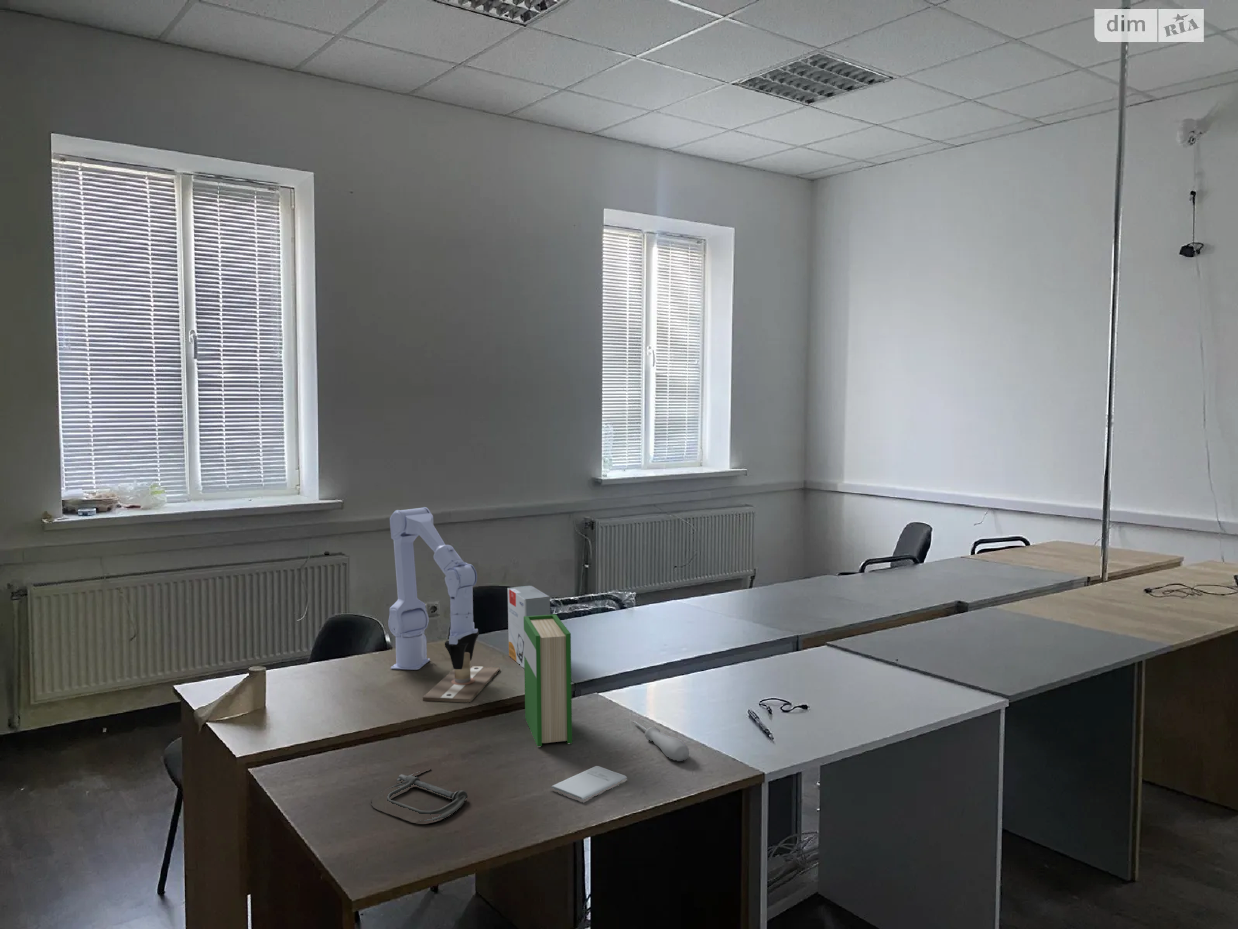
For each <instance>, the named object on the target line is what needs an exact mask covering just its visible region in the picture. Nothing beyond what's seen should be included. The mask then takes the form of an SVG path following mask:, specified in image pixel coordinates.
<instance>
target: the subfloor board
mask: <svg viewBox="0 0 1238 929" xmlns="http://www.w3.org/2000/svg"><path fill="white" fill-rule="evenodd" d="M498 671H499V672H500V671H501V668H500V667H498V666H497V667H494V666H482V665H481V666H479V665H478V666H477V665H472V666H471V665H470V675H471V681H470V682H467V683H456V682H455V669H454V668H453V669H452V670H451V671H450V672H449V673H448V674H446V675H445V676H444V677H443V678H441V680H440V681H439V682H438V683H437V684H435V685H434V686H433V687H432V688H431V689H430V690H428V692H427V693H425V694H424V695H423V696H422V702H423V701H425V702H426V701H427V702H449V703H450V702H452V703H469V702H470V703H471V702H472V701H473V700H474V699H475V698H476V697H477V696H478V694H479V693H480V692H482V691H483V689H484V688H485V687H486V686H487V685H488V684H489V683H490V682H491V681H492V679H493V678H494V677H495V676H496V675H497V674H498V673H499V672H498ZM497 672H498V673H497ZM495 674H496V675H495ZM489 681H490V682H489ZM488 682H489V683H488ZM487 683H488V684H487ZM486 684H487V685H486ZM485 685H486V686H485ZM476 695H477V696H476Z"/></svg>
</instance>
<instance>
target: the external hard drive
mask: <svg viewBox="0 0 1238 929" xmlns="http://www.w3.org/2000/svg"><path fill="white" fill-rule="evenodd" d="M626 778H627V779H628V777H627V776H626V775H625V774H621V773H619V772H616V771H612V770H610V769H608V768H605V767H603V766H599V765H595V766H593V767H591V768H588V769H586V770H584V771H581V772H580V773H577V774H575V775H573V776H571V777H570V776H569V777H568V778H566V779H564V780H562V781H559V782H557V783H555V784H553V785H551V787H550V789H551V788H554V789H555V790H559V791H562V792H564V793H566V794H570V795H572V796H574V797H578V798H580V799H582V800H584V799H586V798H588V797H591V796H592V795H594V794H597V793H599V792H600V791H602V790H605V789H607V788H608V787H611V786H612V785H614V784H617V783H618V782H620V781H621V780H624V779H626Z"/></svg>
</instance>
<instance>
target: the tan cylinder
mask: <svg viewBox="0 0 1238 929" xmlns="http://www.w3.org/2000/svg"><path fill="white" fill-rule="evenodd" d="M470 666H471V661H470V653H468V652H465V653H464V661H463V667H462V669H455V682H456V683H467V682H470V681H471V675H470Z"/></svg>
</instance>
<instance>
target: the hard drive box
mask: <svg viewBox="0 0 1238 929" xmlns="http://www.w3.org/2000/svg"><path fill="white" fill-rule="evenodd" d="M537 615H551V597H550V595H548V594H546V593H544V592H543V591H541V590H539V589H538V588H536V587H534V586H533V585H525V586H524V585H523V586H515V587H512V586H511V587H507V621H508V622H507V624H508V625H507V626H508V627H507V628H508V630H507V631H508V633H507V634H508V636H507V637H508V656H509V657H510V658H511V659H512V660H513V661H515V662H516V663H517V664H518V665H519V664H520V665H519V666H520V667H521V668H523V669H524V616H537Z"/></svg>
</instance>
